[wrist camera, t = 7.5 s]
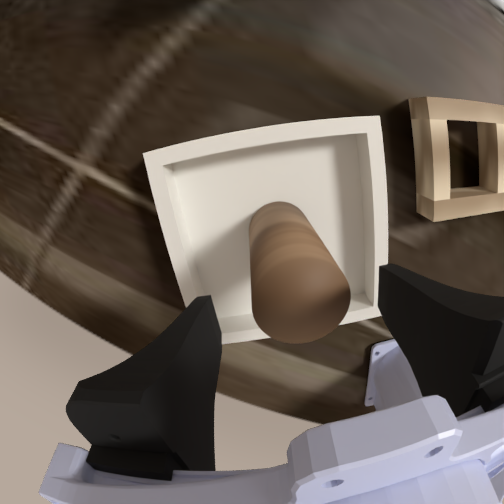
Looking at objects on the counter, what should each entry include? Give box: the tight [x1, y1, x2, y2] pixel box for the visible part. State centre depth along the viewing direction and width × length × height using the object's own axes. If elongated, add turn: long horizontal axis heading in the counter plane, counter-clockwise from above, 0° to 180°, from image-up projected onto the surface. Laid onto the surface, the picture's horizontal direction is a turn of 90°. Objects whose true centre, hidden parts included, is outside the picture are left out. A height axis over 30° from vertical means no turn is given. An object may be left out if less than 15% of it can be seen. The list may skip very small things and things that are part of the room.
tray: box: [143, 116, 388, 344], centre depth 19 cm, size 14×14×2 cm
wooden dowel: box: [249, 201, 351, 343], centre depth 16 cm, size 4×4×9 cm
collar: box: [408, 97, 504, 222], centre depth 17 cm, size 8×8×2 cm
